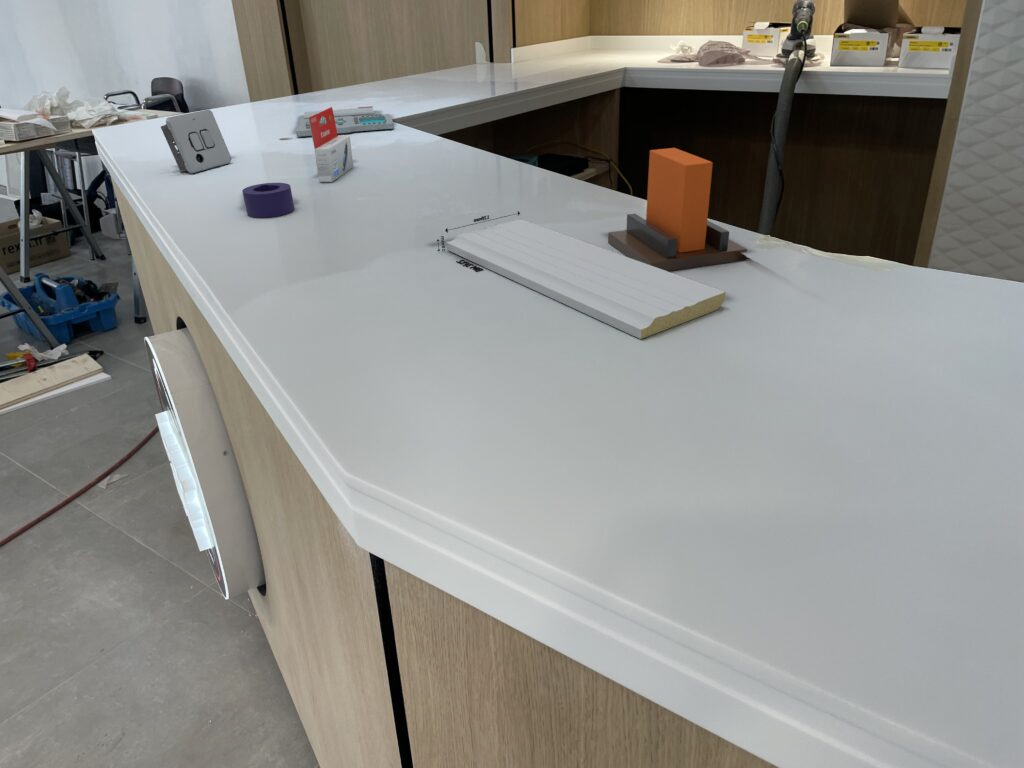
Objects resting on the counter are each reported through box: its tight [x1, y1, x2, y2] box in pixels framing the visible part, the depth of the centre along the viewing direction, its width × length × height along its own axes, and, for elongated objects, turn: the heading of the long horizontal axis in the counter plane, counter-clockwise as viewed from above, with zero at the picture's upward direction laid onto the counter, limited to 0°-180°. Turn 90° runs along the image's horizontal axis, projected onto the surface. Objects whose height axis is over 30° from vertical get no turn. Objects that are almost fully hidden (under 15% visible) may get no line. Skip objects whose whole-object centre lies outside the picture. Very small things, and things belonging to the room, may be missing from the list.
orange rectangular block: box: [645, 147, 714, 253], centre depth 78 cm, size 3×8×9 cm, turn 17°
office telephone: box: [295, 105, 394, 137], centre depth 160 cm, size 23×3×20 cm
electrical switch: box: [160, 109, 233, 174], centre depth 126 cm, size 9×5×9 cm, turn 153°
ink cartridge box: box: [308, 106, 354, 183], centre depth 117 cm, size 2×11×10 cm, turn 173°
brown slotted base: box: [607, 212, 748, 272], centre depth 80 cm, size 11×11×3 cm
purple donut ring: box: [241, 182, 295, 219], centre depth 102 cm, size 12×6×3 cm, turn 26°
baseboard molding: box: [436, 210, 726, 340], centre depth 74 cm, size 31×3×12 cm
